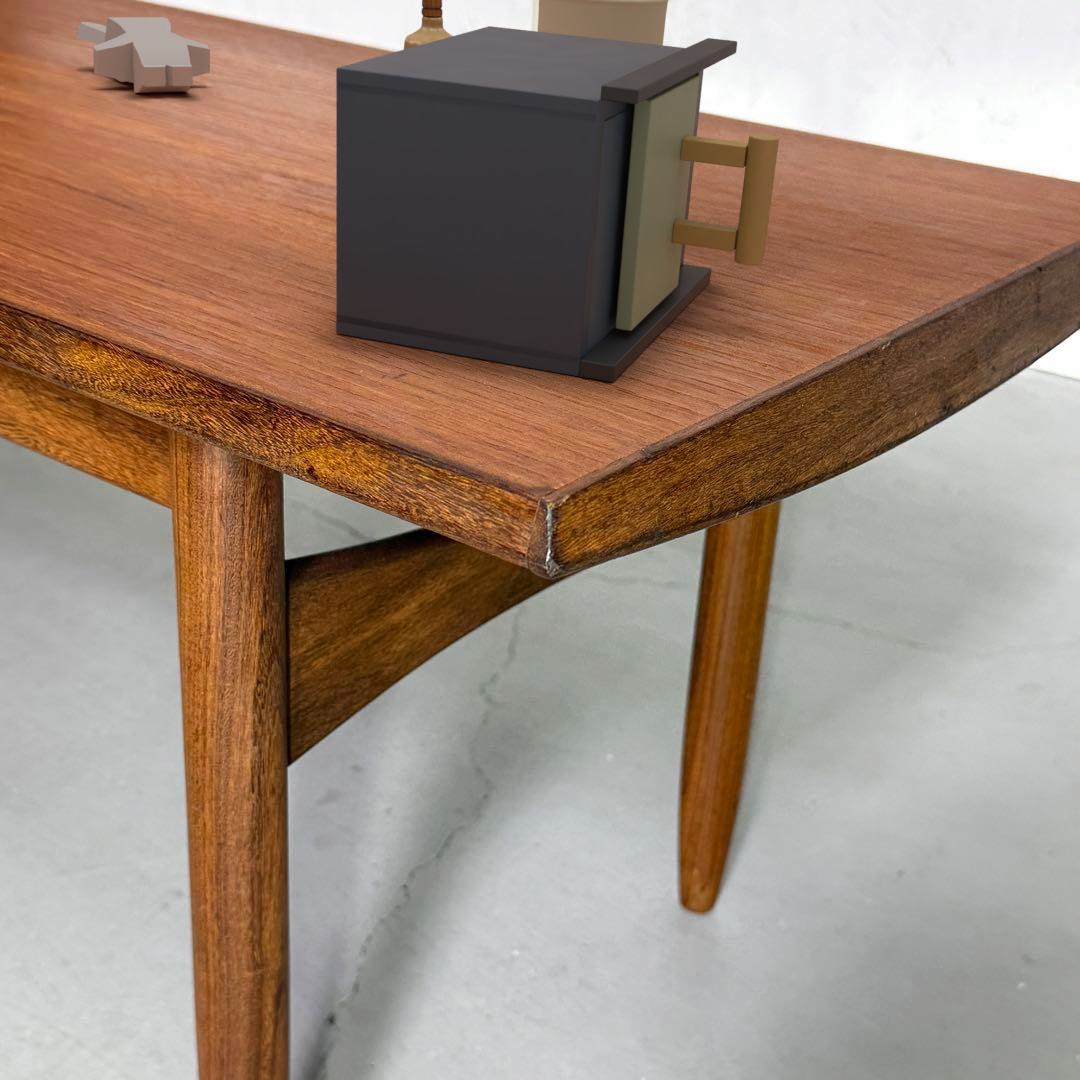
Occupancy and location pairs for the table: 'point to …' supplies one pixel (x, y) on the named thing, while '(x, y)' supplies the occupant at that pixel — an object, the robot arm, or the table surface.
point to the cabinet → (500, 196)
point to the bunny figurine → (145, 53)
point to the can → (605, 19)
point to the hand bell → (428, 25)
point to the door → (683, 199)
